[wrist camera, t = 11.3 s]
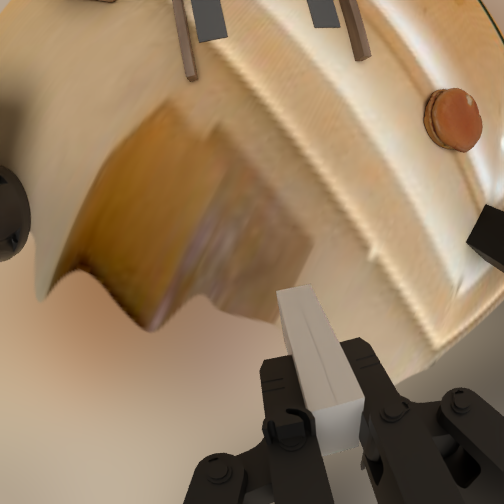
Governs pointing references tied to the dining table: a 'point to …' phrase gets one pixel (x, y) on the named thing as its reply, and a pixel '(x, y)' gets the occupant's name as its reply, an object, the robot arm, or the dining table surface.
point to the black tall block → (489, 237)
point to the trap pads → (214, 26)
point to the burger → (453, 119)
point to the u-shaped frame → (348, 9)
